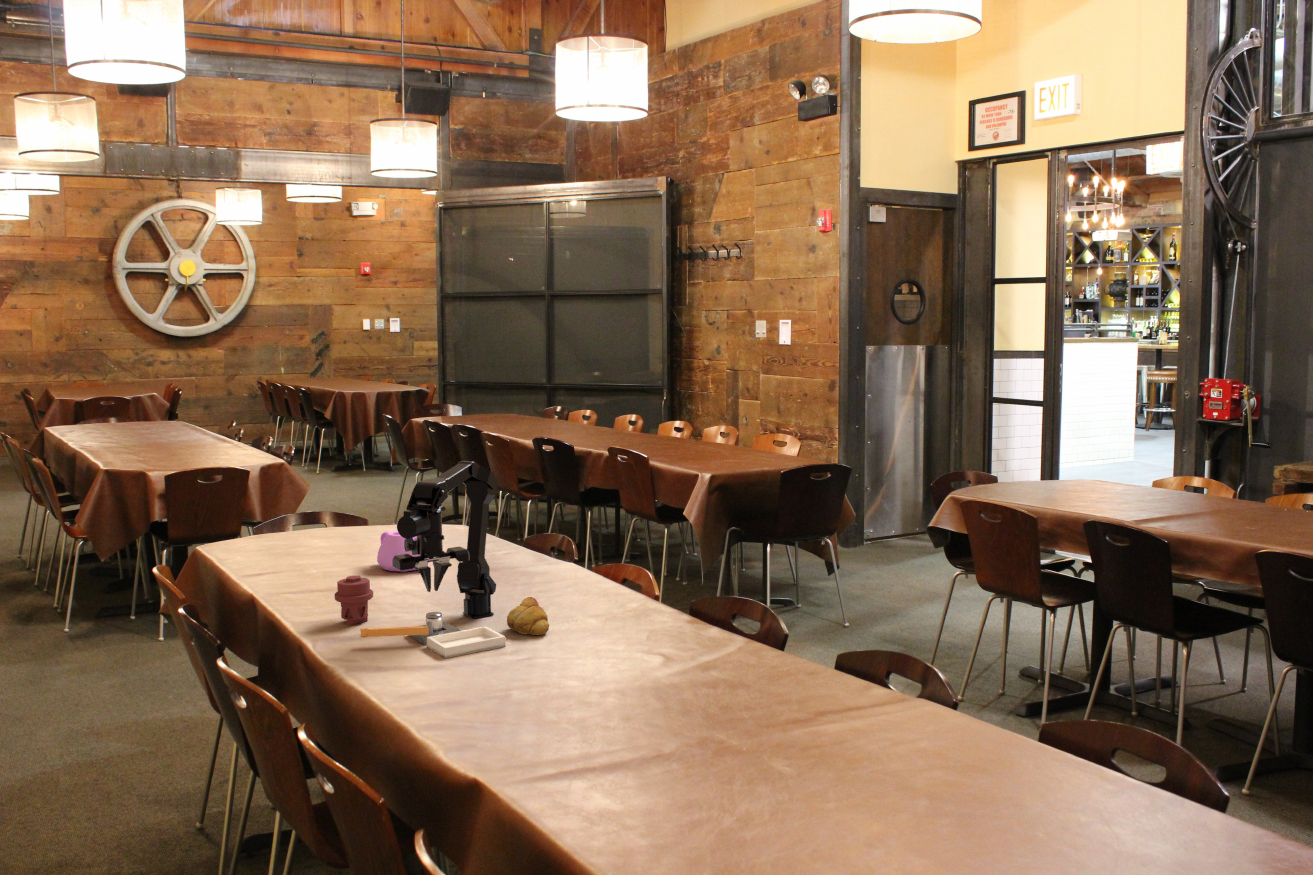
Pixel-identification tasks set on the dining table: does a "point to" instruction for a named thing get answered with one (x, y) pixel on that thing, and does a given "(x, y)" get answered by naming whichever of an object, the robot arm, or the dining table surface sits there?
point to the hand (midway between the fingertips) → (432, 591)
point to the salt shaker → (435, 620)
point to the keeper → (398, 631)
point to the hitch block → (445, 629)
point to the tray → (465, 642)
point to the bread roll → (528, 618)
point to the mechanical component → (354, 598)
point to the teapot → (392, 550)
